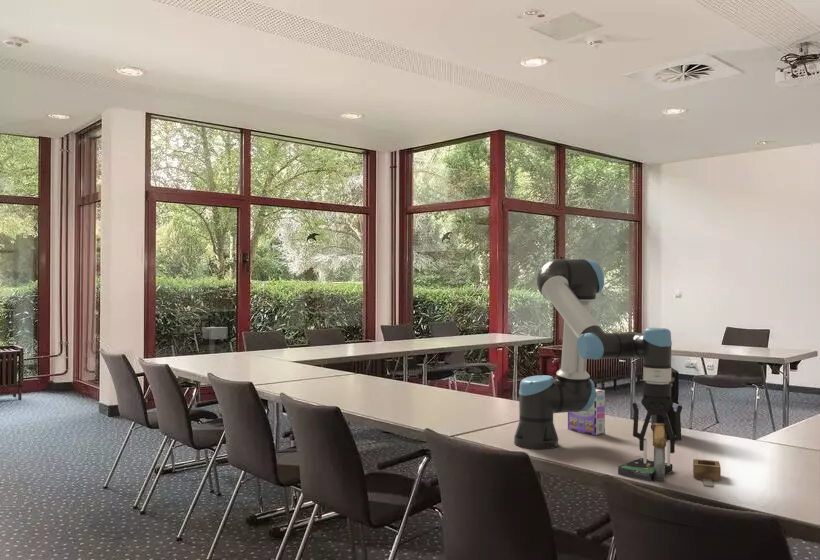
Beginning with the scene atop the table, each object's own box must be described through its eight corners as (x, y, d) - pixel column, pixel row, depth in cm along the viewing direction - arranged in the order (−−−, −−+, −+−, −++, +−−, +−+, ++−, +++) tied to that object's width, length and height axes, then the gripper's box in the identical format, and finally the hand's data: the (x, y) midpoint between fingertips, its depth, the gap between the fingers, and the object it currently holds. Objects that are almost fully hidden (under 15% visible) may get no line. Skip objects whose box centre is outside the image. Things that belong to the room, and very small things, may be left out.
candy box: (605, 434, 255) (605, 390, 255) (595, 436, 251) (595, 391, 251) (577, 427, 266) (577, 385, 266) (566, 429, 263) (567, 386, 263)
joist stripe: (703, 486, 190) (703, 485, 190) (700, 467, 209) (700, 466, 209) (713, 487, 189) (713, 486, 189) (708, 467, 209) (708, 466, 209)
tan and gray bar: (652, 481, 194) (652, 425, 194) (652, 478, 197) (652, 422, 197) (666, 482, 193) (666, 426, 193) (665, 479, 196) (666, 423, 196)
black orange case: (681, 441, 243) (681, 371, 243) (655, 440, 245) (656, 370, 245) (673, 432, 258) (673, 366, 258) (649, 431, 260) (649, 365, 260)
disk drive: (639, 466, 212) (617, 475, 202) (640, 457, 212) (617, 466, 202) (672, 473, 205) (651, 482, 194) (672, 463, 205) (651, 473, 194)
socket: (693, 478, 197) (694, 464, 197) (693, 472, 204) (693, 458, 204) (720, 481, 195) (720, 467, 195) (718, 474, 201) (718, 461, 201)
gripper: (622, 382, 195) (621, 463, 195) (692, 385, 189) (692, 469, 189) (623, 378, 202) (623, 457, 202) (692, 382, 196) (691, 463, 196)
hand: (656, 463), depth 196 cm, fingers open, 6 cm apart
